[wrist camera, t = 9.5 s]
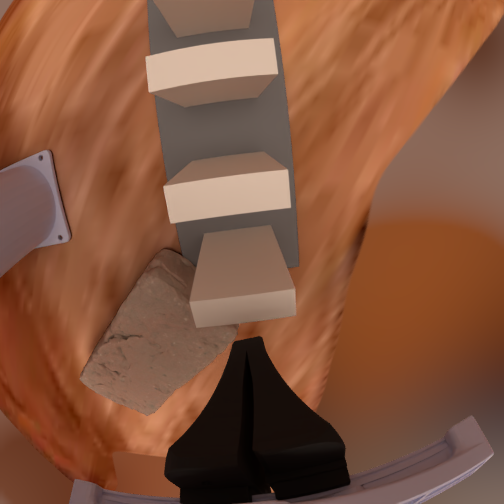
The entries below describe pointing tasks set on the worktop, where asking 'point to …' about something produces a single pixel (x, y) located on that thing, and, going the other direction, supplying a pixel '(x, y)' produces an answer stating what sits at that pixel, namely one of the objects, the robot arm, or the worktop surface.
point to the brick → (154, 339)
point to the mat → (228, 131)
